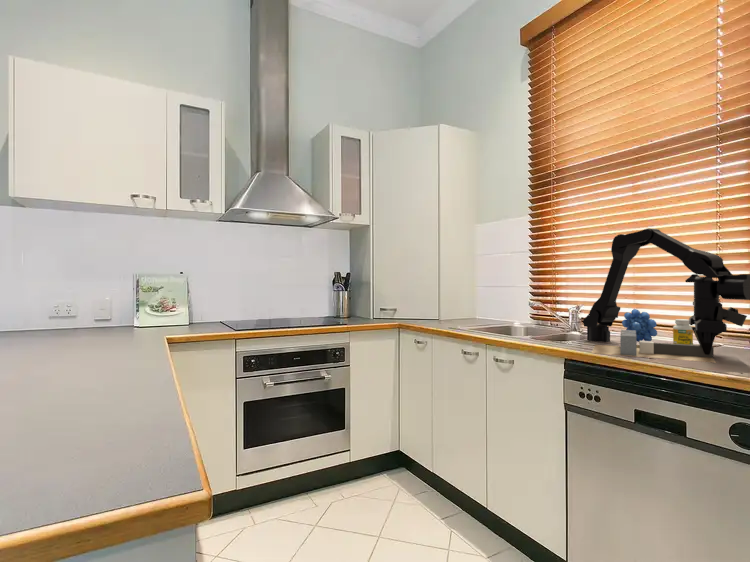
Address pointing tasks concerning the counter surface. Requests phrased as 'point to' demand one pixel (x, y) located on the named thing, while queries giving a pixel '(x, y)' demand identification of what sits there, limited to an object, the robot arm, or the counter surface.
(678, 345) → the grey and white bar
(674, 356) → the mounting board
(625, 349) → the grey boxy piece
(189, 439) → the counter surface
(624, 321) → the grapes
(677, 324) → the supplement bottle
